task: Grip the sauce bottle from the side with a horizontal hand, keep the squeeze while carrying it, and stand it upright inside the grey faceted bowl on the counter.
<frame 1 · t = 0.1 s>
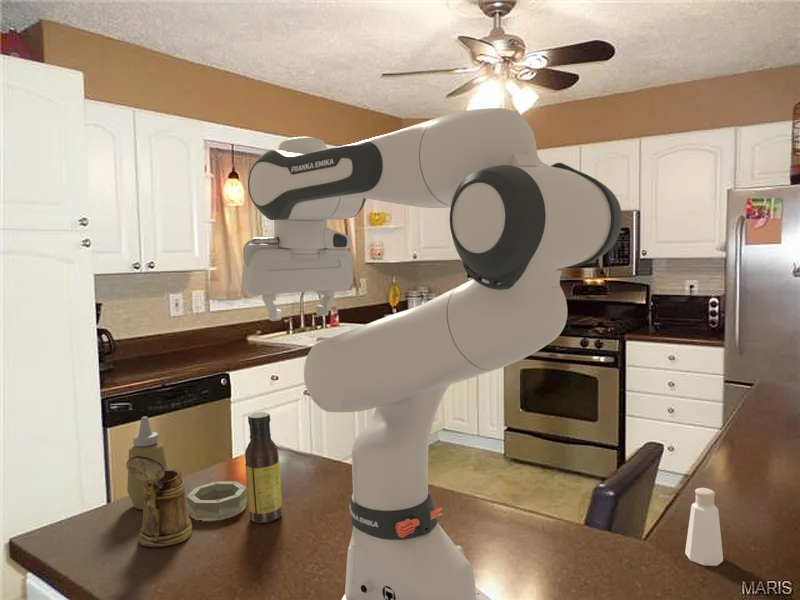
hand: (299, 317, 103), 39 cm above the countertop, tool pointing down, fingers open, 8 cm apart
wooden mug: (161, 543, 105), on the countertop
salt shaker: (703, 558, 95), on the countertop
sauce bottle: (265, 518, 114), on the countertop
squeeze bottle: (150, 505, 121), on the countertop
grey faceted bowl: (217, 508, 118), on the countertop
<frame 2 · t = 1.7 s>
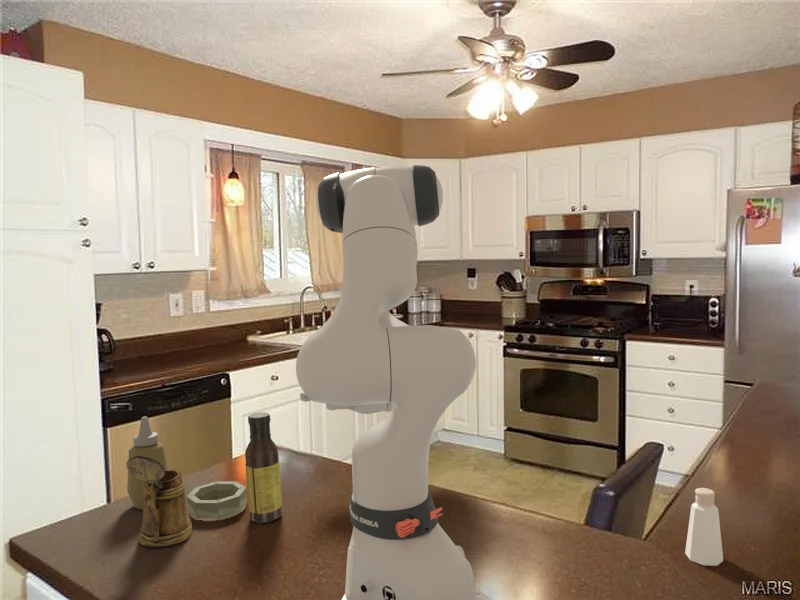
hand: (314, 401, 120), 20 cm above the countertop, tool horizontal, fingers open, 8 cm apart
nothing on the countertop moved.
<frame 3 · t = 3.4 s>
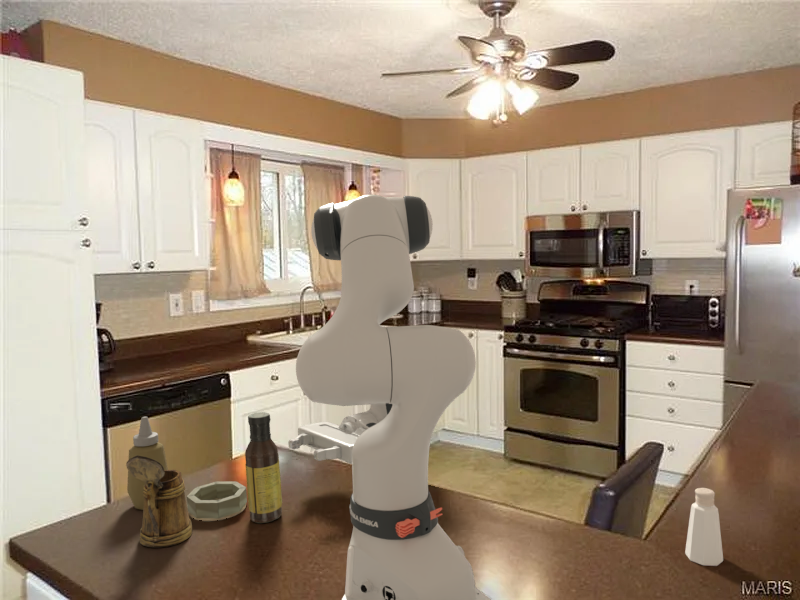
hand: (302, 450, 118), 11 cm above the countertop, tool horizontal, fingers open, 8 cm apart
nothing on the countertop moved.
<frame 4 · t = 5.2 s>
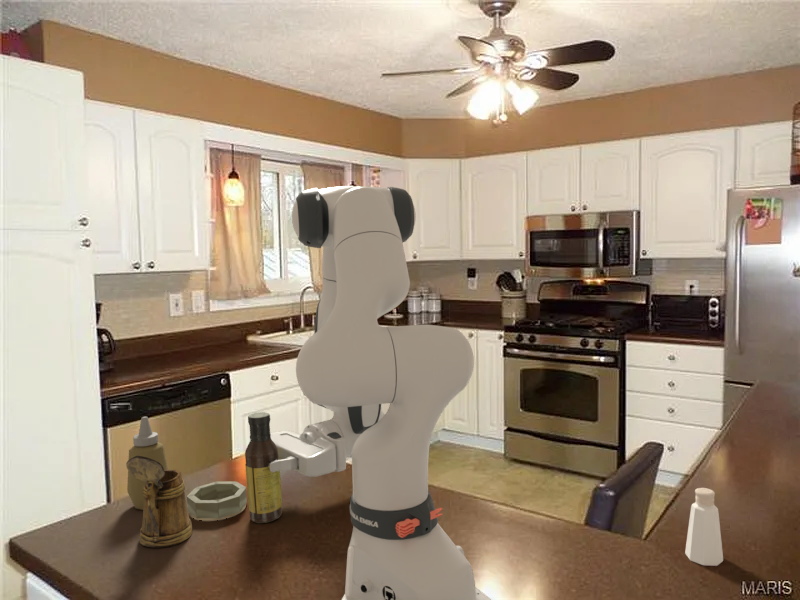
hand: (258, 461, 112), 11 cm above the countertop, tool horizontal, fingers open, 6 cm apart
sauce bottle: (265, 518, 114), on the countertop, touching gripper
everything else where it was.
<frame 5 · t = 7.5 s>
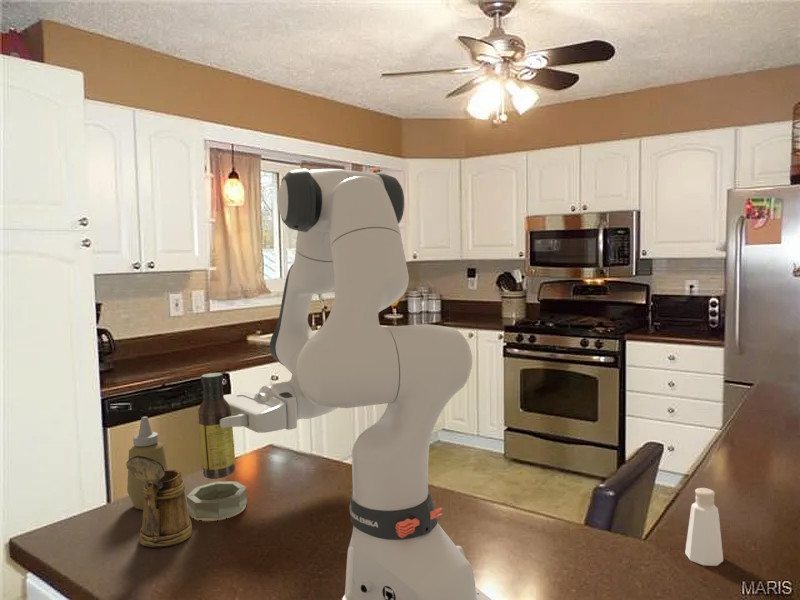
hand: (211, 419, 116), 18 cm above the countertop, tool horizontal, fingers closed on sauce bottle, 6 cm apart
sauce bottle: (219, 474, 118), point 7 cm above the countertop, touching gripper
everything else where it was.
when the fingers open (12 cm above the countertop, at t = 9.3 s): sauce bottle stays where it is, resting on grey faceted bowl.
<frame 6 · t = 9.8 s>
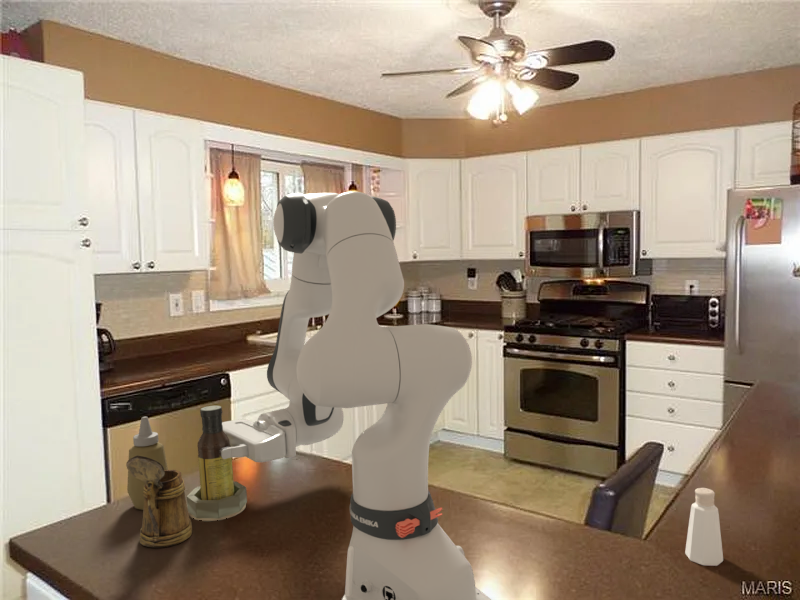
hand: (210, 448, 116), 12 cm above the countertop, tool horizontal, fingers open, 8 cm apart
sauce bottle: (218, 507, 118), resting on grey faceted bowl
everything else where it was.
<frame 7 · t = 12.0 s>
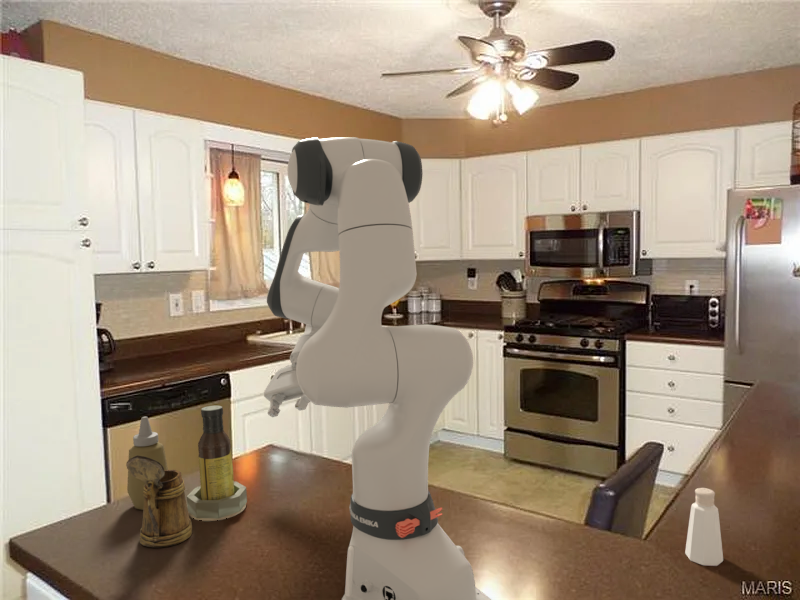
hand: (285, 412, 122), 18 cm above the countertop, tool tilted 50°, fingers open, 8 cm apart
nothing on the countertop moved.
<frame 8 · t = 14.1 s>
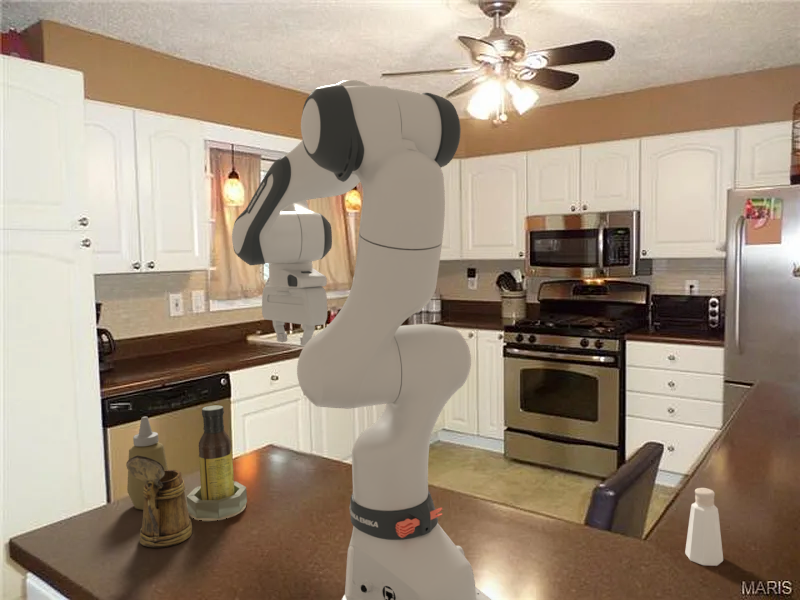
hand: (293, 343, 124), 31 cm above the countertop, tool pointing down, fingers open, 8 cm apart
nothing on the countertop moved.
at the end: sauce bottle 0.1 cm from the grey faceted bowl (horizontally); sauce bottle tilted 1°; the gripper is holding nothing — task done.
